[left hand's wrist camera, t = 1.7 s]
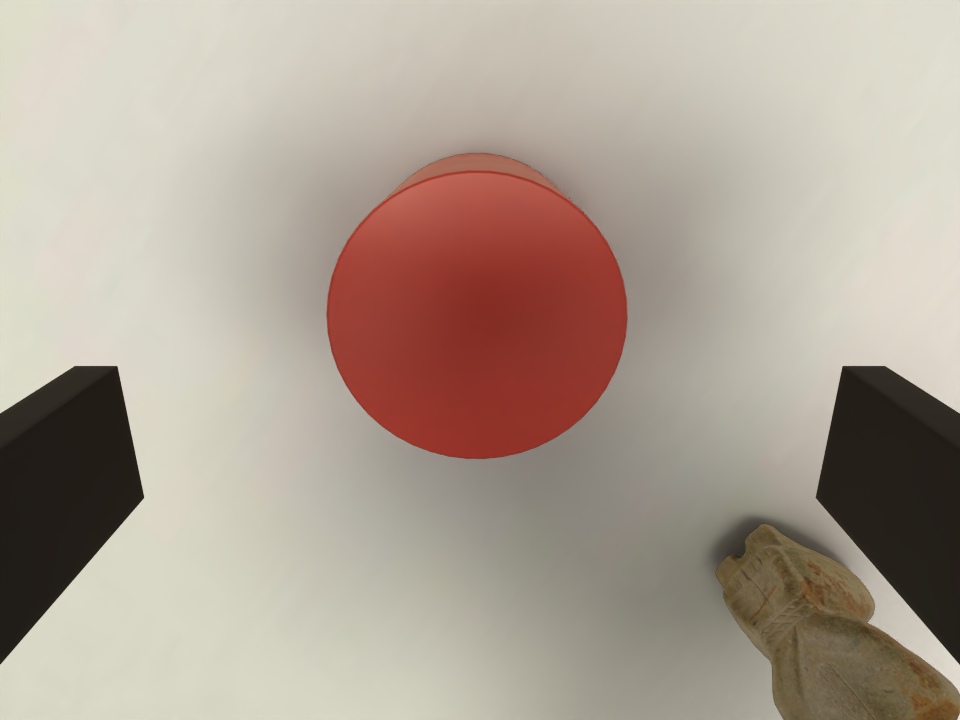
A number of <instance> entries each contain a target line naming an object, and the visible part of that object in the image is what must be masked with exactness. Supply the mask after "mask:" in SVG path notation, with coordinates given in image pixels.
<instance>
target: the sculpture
mask: <svg viewBox="0 0 960 720" xmlns="http://www.w3.org/2000/svg"><path fill="white" fill-rule="evenodd" d="M745 547H746V548H745V553H744V555H743V556H742V558H740V557H739V556H737V555H729V556H728V557H727V558H725V559H724V560H723V561H722V563H721V564H720V565H719V567H718V568H717V569H716V572H715V573H716V576H717V578H718V580H719V582H720V583H721V585H722V587H723V588H724V591H723V598H724V600H725V603H726V605H727V607H728V608H729V610H730V612H731V613H732V615H733V617H734V618H735V620H736V621H737V623H738V624H739V626H740V627H741V629H742V630H743V631H744V633H745V634H746V635H747V637H748V638H749V639H750V641H751V642H752V643H753V644H754V645H755V646H756V647H757V648H758V649H759V650H760V651H761V652H762V653H763V654H764V655H765V657H766V658H768V659H769V660H770V662H771V665H772V690H773V699H774V702H775V705H776V707H777V709H778V711H779V713H780V714H781V716H782V718H783V719H784V720H957V718H958V716H959V714H960V694H959V692H958V690H957V689H956V687H955V686H954V685H953V684H952V683H951V682H950V681H949V680H948V679H947V678H946V677H945V676H943V675H942V674H941V673H940V672H939V671H937V670H936V669H935V668H933V667H932V666H931V665H930V664H928V663H927V662H926V661H924V660H923V659H922V658H920V657H919V656H917V655H916V654H914V653H913V652H911V651H909V650H908V649H906V648H905V647H904V646H902V645H901V644H900V643H898V642H897V641H896V640H895V639H893V638H892V637H890V636H889V635H888V634H886V633H885V632H883V631H881V630H880V629H878V628H876V627H875V626H873V625H870V624H868V623H867V622H868V621H869V620H870V619H871V617H872V616H873V614H874V610H875V603H874V600H873V598H872V596H871V594H870V592H869V591H868V590H867V588H866V587H865V585H864V584H863V583H862V582H861V581H860V579H859V578H858V577H857V576H856V575H854V574H853V573H852V572H851V571H850V570H849V569H847V568H846V567H844V566H843V565H841V564H840V563H838V562H836V561H834V560H832V559H830V558H828V557H826V556H824V555H822V554H820V553H818V552H816V551H814V550H811V549H809V548H806V547H804V546H802V545H799V544H797V543H796V542H794V541H792V540H791V539H789V538H788V537H786V536H784V535H783V534H781V533H780V532H779V531H778V530H777V529H775V528H774V527H772V526H770V525H767V524H761V525H760V526H759V527H758V528H756V529H755V530H754V531H753V532H752V533H750V534H749V535H748V536H747V538H746V539H745Z"/></svg>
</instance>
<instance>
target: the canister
mask: <svg viewBox="0 0 960 720" xmlns="http://www.w3.org/2000/svg"><path fill="white" fill-rule="evenodd" d="M626 327H627V298H626V293H625V288H624V282H623V278H622V275H621V272H620V269H619V266H618V263H617V261H616V258H615V256H614V254H613V252H612V250H611V248H610V246H609V244H608V243H607V241H606V240H605V238H604V237H603V235H602V234H601V232H600V231H599V229H598V228H597V227H596V226H595V225H594V223H593V222H592V221H591V220H590V219H589V218H588V217H587V216H586V215H585V214H584V212H583V211H581V210H580V209H579V208H578V207H577V206H576V205H575V204H574V203H573V202H572V201H571V200H569V199H568V198H567V197H566V196H565V195H564V194H563V193H562V192H561V191H560V190H558V189H557V188H556V187H555V186H554V185H553V184H552V183H551V182H550V181H548V180H547V179H546V178H545V177H544V176H542V175H541V174H540V173H539V172H537V171H535V170H534V169H532V168H531V167H529V166H527V165H525V164H523V163H521V162H518V161H516V160H514V159H510V158H507V157H504V156H500V155H493V154H487V153H469V154H461V155H455V156H451V157H447V158H444V159H441V160H439V161H436V162H434V163H431V164H429V165H427V166H426V167H424V168H422V169H421V170H419V171H417V172H416V173H415V174H413V175H412V176H411V177H410V178H408V179H407V180H406V181H405V182H404V183H402V184H401V185H400V186H399V187H398V188H397V189H396V190H395V191H394V192H392V193H391V194H390V195H389V196H388V197H387V198H386V199H385V200H383V201H382V202H381V203H380V204H379V205H378V206H377V207H376V208H375V209H373V210H372V212H371V213H370V214H369V215H368V216H367V217H366V218H365V219H364V220H363V221H362V222H361V223H360V224H359V225H358V227H357V228H356V230H355V231H354V232H353V234H352V235H351V237H350V238H349V239H348V241H347V243H346V245H345V246H344V248H343V250H342V252H341V254H340V256H339V258H338V261H337V263H336V266H335V269H334V272H333V274H332V278H331V283H330V287H329V292H328V300H327V328H328V336H329V341H330V346H331V351H332V354H333V357H334V360H335V362H336V365H337V368H338V370H339V372H340V374H341V376H342V378H343V380H344V382H345V384H346V386H347V387H348V389H349V390H350V392H351V393H352V395H353V396H354V398H355V399H356V401H357V402H358V403H359V404H360V405H361V406H362V407H363V409H364V410H365V411H366V412H367V413H368V414H369V415H370V416H371V417H372V418H373V419H374V420H375V421H377V422H378V423H379V424H380V425H381V426H382V427H384V428H385V429H387V430H388V431H389V432H391V433H392V434H394V435H395V436H397V437H398V438H400V439H402V440H404V441H406V442H408V443H410V444H412V445H414V446H416V447H419V448H422V449H424V450H427V451H430V452H433V453H437V454H441V455H445V456H450V457H458V458H466V459H487V458H496V457H504V456H509V455H513V454H517V453H521V452H524V451H527V450H530V449H533V448H535V447H538V446H540V445H542V444H544V443H546V442H548V441H550V440H552V439H554V438H556V437H557V436H559V435H560V434H562V433H563V432H565V431H566V430H568V429H569V428H570V427H572V426H573V425H574V424H575V423H576V422H578V421H579V420H580V419H581V418H582V417H583V416H584V415H585V414H586V413H587V412H588V411H589V410H590V409H591V408H592V407H593V406H594V404H595V403H596V402H597V401H598V399H599V398H600V396H601V395H602V394H603V392H604V391H605V389H606V388H607V386H608V384H609V382H610V380H611V378H612V377H613V375H614V373H615V371H616V368H617V365H618V363H619V360H620V357H621V355H622V350H623V346H624V342H625V337H626Z"/></svg>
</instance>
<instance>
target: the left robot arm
mask: <svg viewBox="0 0 960 720" xmlns="http://www.w3.org/2000/svg"><path fill="white" fill-rule="evenodd" d="M143 499H144V494H143V489H142V485H141V480H140V475H139V470H138V465H137V460H136V455H135V450H134V445H133V440H132V436H131V431H130V426H129V421H128V416H127V411H126V406H125V401H124V396H123V392H122V387H121V382H120V377H119V372H118V367H117V366H74V367H73V368H71V369H70V370H68V371H67V372H65V373H63V374H62V375H60V376H59V377H57V378H56V379H54V380H52V381H51V382H49V383H48V384H46V385H45V386H43V387H41V388H40V389H38V390H37V391H35V392H34V393H32V394H30V395H29V396H27V397H26V398H24V399H23V400H21V401H19V402H18V403H16V404H15V405H13V406H12V407H10V408H8V409H7V410H5V411H4V412H2V413H0V664H1V663H2V662H3V661H4V660H5V658H6V657H7V656H8V655H9V654H10V653H11V652H12V650H13V649H14V648H15V647H16V646H17V645H18V643H19V642H20V641H21V640H22V639H23V638H24V636H25V635H26V634H27V633H28V632H29V631H30V629H31V628H32V627H33V626H34V625H35V624H36V623H37V621H38V620H39V619H40V618H41V617H42V616H43V614H44V613H45V612H46V611H47V610H48V609H49V607H50V606H51V605H52V604H53V603H54V602H55V601H56V599H57V598H58V597H59V596H60V595H61V594H62V592H63V591H64V590H65V589H66V588H67V587H68V585H69V584H70V583H71V582H72V581H73V580H74V579H75V577H76V576H77V575H78V574H79V573H80V572H81V570H82V569H83V568H84V567H85V566H86V565H87V563H88V562H89V561H90V560H91V559H92V558H93V557H94V555H95V554H96V553H97V552H98V551H99V550H100V548H101V547H102V546H103V545H104V544H105V543H106V541H107V540H108V539H109V538H110V537H111V536H112V534H113V533H114V532H115V531H116V530H117V529H118V528H119V526H120V525H121V524H122V523H123V522H124V521H125V519H126V518H127V517H128V516H129V515H130V514H131V512H132V511H133V510H134V509H135V508H136V507H137V506H138V504H139V503H140V502H141V501H142V500H143ZM816 499H817V500H818V501H819V502H820V503H821V504H822V506H823V507H824V508H825V509H826V510H827V511H828V512H829V514H830V515H831V516H832V517H833V518H834V519H835V521H836V522H837V523H838V524H839V525H840V526H841V528H842V529H843V530H844V531H845V532H846V533H847V534H848V536H849V537H850V538H851V539H852V540H853V541H854V543H855V544H856V545H857V546H858V547H859V548H860V550H861V551H862V552H863V553H864V554H865V555H866V557H867V558H868V559H869V560H870V561H871V562H872V563H873V565H874V566H875V567H876V568H877V569H878V570H879V572H880V573H881V574H882V575H883V576H884V577H885V579H886V580H887V581H888V582H889V583H890V584H891V585H892V587H893V588H894V589H895V590H896V591H897V592H898V594H899V595H900V596H901V597H902V598H903V599H904V601H905V602H906V603H907V604H908V605H909V606H910V607H911V609H912V610H913V611H914V612H915V613H916V614H917V616H918V617H919V618H920V619H921V620H922V621H923V623H924V624H925V625H926V626H927V627H928V628H929V629H930V631H931V632H932V633H933V634H934V635H935V636H936V638H937V639H938V640H939V641H940V642H941V643H942V645H943V646H944V647H945V648H946V649H947V650H948V652H949V653H950V654H951V655H952V656H953V657H954V658H955V660H956V661H957V662H958V663H959V664H960V413H958V412H956V411H955V410H953V409H952V408H950V407H948V406H947V405H945V404H944V403H942V402H941V401H939V400H937V399H936V398H934V397H933V396H931V395H930V394H928V393H926V392H925V391H923V390H922V389H920V388H919V387H917V386H915V385H914V384H912V383H911V382H909V381H908V380H906V379H904V378H903V377H901V376H900V375H898V374H897V373H895V372H893V371H892V370H890V369H889V368H887V367H886V366H843V367H842V372H841V377H840V382H839V387H838V392H837V396H836V401H835V406H834V411H833V416H832V421H831V426H830V431H829V436H828V440H827V445H826V450H825V455H824V460H823V465H822V470H821V475H820V480H819V485H818V489H817V494H816Z"/></svg>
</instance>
